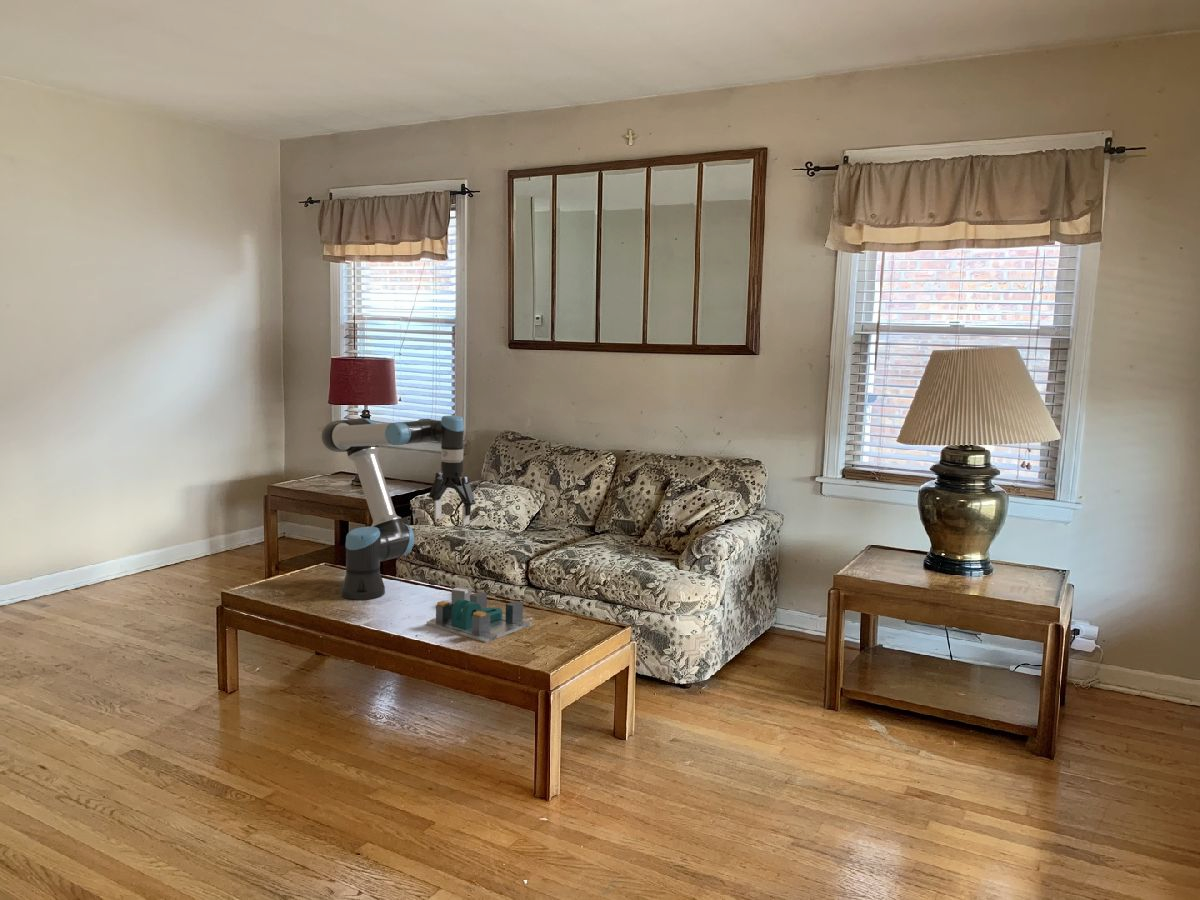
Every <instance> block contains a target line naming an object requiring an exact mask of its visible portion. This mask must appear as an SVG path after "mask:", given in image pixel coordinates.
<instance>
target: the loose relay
mask: <svg viewBox="0 0 1200 900" xmlns="http://www.w3.org/2000/svg"><path fill="white" fill-rule="evenodd" d="M472 589H473V588H472V587H466V586H456V587H454V588H452V589H451V603H453V604H454V603H455V602H456V601H457V600H459V599H464V600H467V601H469V602H470V595H471V594H473V593H472Z"/></svg>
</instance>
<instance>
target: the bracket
mask: <svg viewBox="0 0 1200 900" xmlns="http://www.w3.org/2000/svg"><path fill="white" fill-rule="evenodd" d="M461 610H462V612H461ZM476 611H482V612H486V613H490V622H493V621H496V620H499V619H502V614H503V609H501V608H499V607H487V608H485V609H481V606H480V605H479V604H477V603H474V602H469V601H467V600H464V599H459V600H457V601H456V602H455V603H454V604H453V607H452V620H451V625H452V626H455V627H458V628H461V629H464V630H468V629H471V628H472V615H473V612H476Z"/></svg>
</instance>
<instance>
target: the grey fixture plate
mask: <svg viewBox="0 0 1200 900" xmlns="http://www.w3.org/2000/svg"><path fill="white" fill-rule="evenodd" d="M470 602H474V603H477V604H479V605H480V606H481V609H485V608H488V606H487V604H488V594H487V593H486V592H484V591H477V592H474V593H472V594H471V595H470ZM452 607H453V603H452V602H449V601H445V600H441V601H437V602H436V605H435V617H434V618H433V619H432V618H431V619H430V620H428V621H426V626H429V627H433V628H437V629H439V630H442V631H447V632H449V633H453V634H456V635H460V636H463V637H466V638H470V639H473V640H476V641H479V642H483V643H489V642H490V641H492V640H493V641H494V640H496V639H499V638H501V637H504V636H507V635H510V634H512V633H514V632H517V631H520V630H523V629H525V628H528V627H531V626H533V621H530V620H527V619H524V602H523V601H519V600H514V601H512V602H508V603H506V604H505V613H502V619H499V620H496V621H493V622H490V613H486V612H482V611H476V612H473V615H472V628H471V629H468V630H464V629H461V628H458V627H455V626H452V625H451V620H452ZM461 612H462V610H461Z"/></svg>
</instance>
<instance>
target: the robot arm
mask: <svg viewBox="0 0 1200 900" xmlns="http://www.w3.org/2000/svg"><path fill="white" fill-rule="evenodd" d="M464 427H465V426H464V419H463V417H462V416H459V415H443V416H442V417H441V419H440V420H438V419H437V420H436V419H432V418H419V419H418V420H412V421H411V420H410V421H397V422H385V423H384V422H383V423H376V422H375V421H374V420H372V419H371V418H363V417H362V418H361V417H358V418H352V419H341V420H340V419H339V420H333V421H331V422H328V423H327V424H326V425H325V426H324V427H323V428H322V430H321V436H320V437H321V438H320V439H321V441H322V444H323V446H324V447H325V448H326V449H327V450H329V451H332V452H334V453H341V452H343V453H344V452H346V455H347V457H348V459H349V460H351V461H353V462H354V466H355V469H356V472H357V475H358V477H359V481H360V484H361V488H362V491H363V494H364V497H365V499H366V504H367V507H368V510H369V513H370V516H371V518H372V519H371V520H372V523H371V526H369V525H368V526H362V527H361V526H360V527H356V528H354V529H352V530H349V532H348V533H347V534H346V536H345V544H344V545H345V547H344V548H345V575H344V580H343V584H342V585H341V589H340V594H341V597H343V598H345V599H348V600H356V601H357V600H360V601H361V600H372V599H377V598H380V597H382V596H384V595H385V593H386V587H385V584H384V581H383V577H382V575H381V569H380V568H381V567H380V566H381V562H384V561H388V560H392V559H399V558H401V557H404V556H407V555H408V554H409V553H411V551H412V549H413V548H414V544H415V534H414V531H413V528H412V527H411V526H409V525H408V524H406V523H404V521H403V519H402V517H401V516H399V515H397V513H396V511H395V507H394V504H393V500H392V497H391V494H390V491H389V489H388V485H387V482H386V479H385V475H384V473H383V469H382V467H381V463H380V461H379V458H378V453H379V451H380V447H379V446H389V445H390V446H391V445H392V446H402V445H409V444H410V445H411V444H418V443H428V442H437V443H441V444H440V445H441V446H440V450H441V453H440V458H441V460H442V461H441V462H440V472H436V473H435V476H434V481H433V484H432V486H431V489H430V492H429V494H428V497H429V498H431V499H432V501H433V506H432V507H433V509H434V513H433V514H434V515H433V517H434V518H433V519H434V520H441V519H442V514H443V513H442V512H443V511H442V508H443V507H442V506H443V505H442V502H443V501H442V496H443V495H444V493H445V492H446V491H447V489H448V488H450V489H454V490H455V491H456V493H457V494H458V496H459V498H460V500H461V502H462V504H463V505H462V506H461V507H462V510H461V511H462V519H461V520H462V521H461V524H462V526H468V525H470V519H471V518H470V516H471V515H472V510H471V509H472V508H471V507H472V506H473V505H474V506H475V505H476V498H475V496H474V493H473V490H472V488H471V484H470V477H469V476H463V475H462V473H463V472H464V461H463V460H464V430H465V428H464Z"/></svg>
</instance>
